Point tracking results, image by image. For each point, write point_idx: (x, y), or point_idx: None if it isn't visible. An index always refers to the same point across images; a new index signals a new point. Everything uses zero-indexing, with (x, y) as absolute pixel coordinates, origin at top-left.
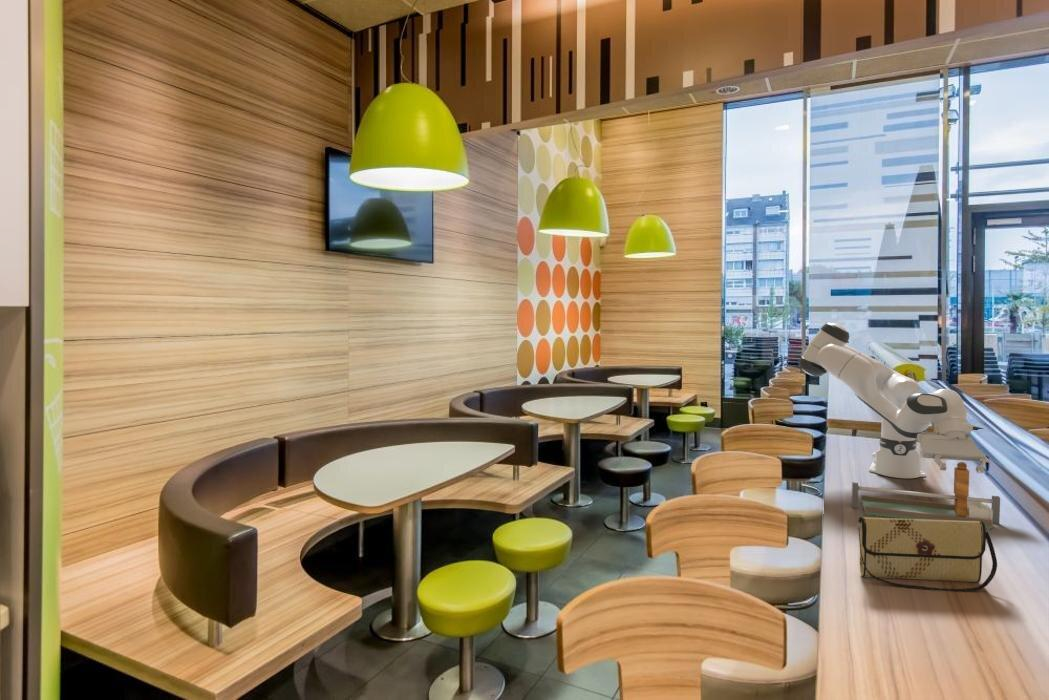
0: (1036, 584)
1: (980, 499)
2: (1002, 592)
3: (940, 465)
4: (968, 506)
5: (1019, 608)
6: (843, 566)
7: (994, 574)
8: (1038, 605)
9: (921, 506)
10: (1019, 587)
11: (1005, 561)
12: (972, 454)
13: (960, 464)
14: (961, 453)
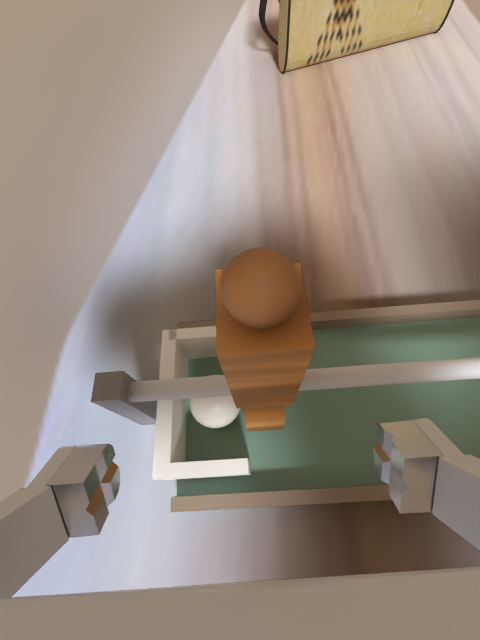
0: (199, 95)
1: (181, 379)
2: (254, 62)
3: (442, 437)
4: (231, 399)
5: (244, 40)
6: (470, 43)
7: (264, 29)
8: (219, 52)
9: None
10: (227, 80)
11: (218, 149)
12: (10, 618)
13: (277, 251)
14: (207, 613)
